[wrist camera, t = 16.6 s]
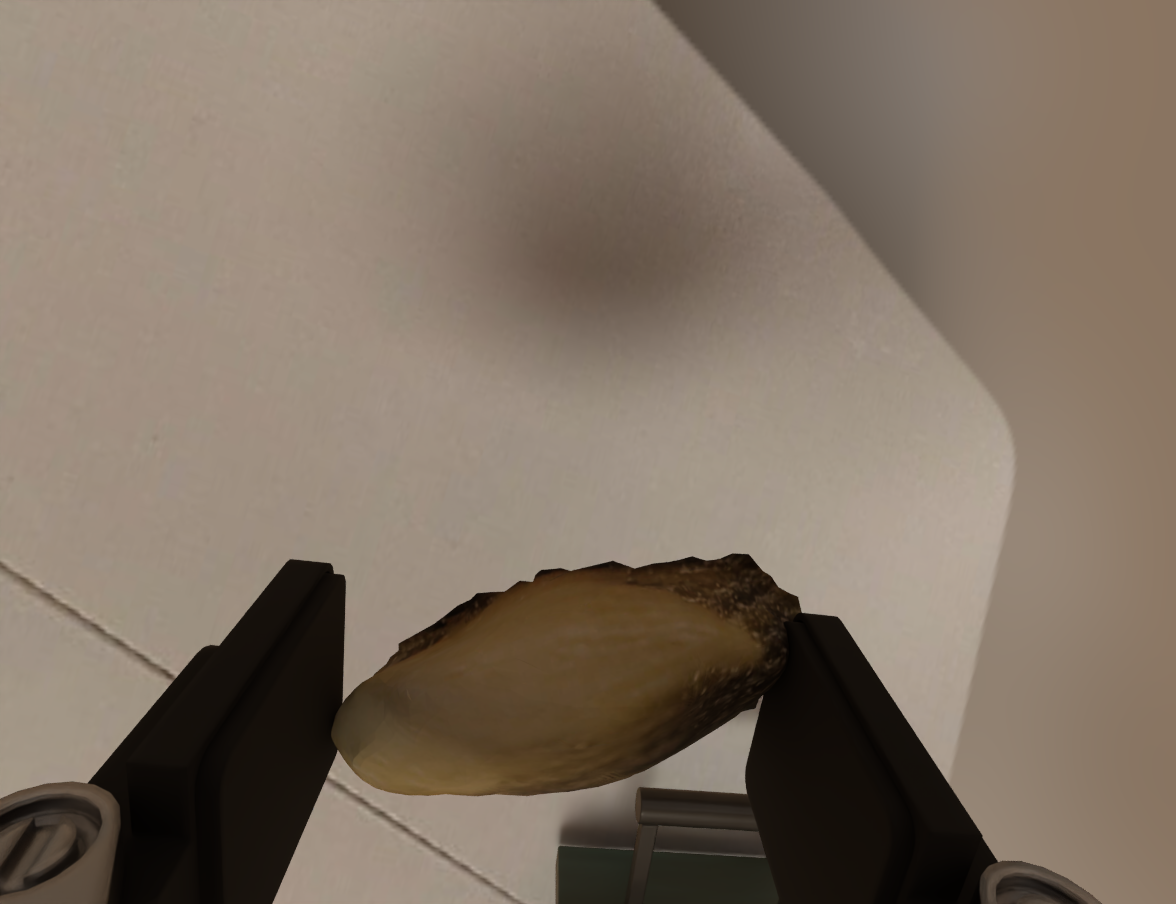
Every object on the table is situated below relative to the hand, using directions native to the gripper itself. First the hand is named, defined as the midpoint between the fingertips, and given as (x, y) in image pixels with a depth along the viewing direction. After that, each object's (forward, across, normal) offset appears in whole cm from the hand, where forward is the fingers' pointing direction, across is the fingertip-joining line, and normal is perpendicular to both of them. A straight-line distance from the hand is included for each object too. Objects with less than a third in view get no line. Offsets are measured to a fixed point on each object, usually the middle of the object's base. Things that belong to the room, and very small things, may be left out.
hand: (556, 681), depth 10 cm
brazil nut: (+1, 0, 0) cm, 1 cm away
